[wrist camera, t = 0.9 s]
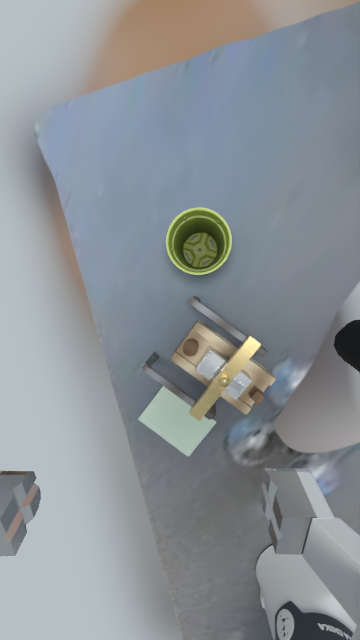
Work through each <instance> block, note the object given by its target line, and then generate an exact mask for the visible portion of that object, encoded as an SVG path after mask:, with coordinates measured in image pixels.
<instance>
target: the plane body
mask: <svg viewBox="0 0 360 640" xmlns="http://www.w3.org/2000/svg"><path fill="white" fill-rule="evenodd" d="M199 300H200V299H199V298H197V297H196V296H195V297H193V298H192V299H191V301H190V302H189V303H190V304H191V305H192V306H194V307H195V308H196V309H198V310H199V311H200V312H202V313H203V314H204V315H206V316H207V317H209V318H210V319H211V320H213V321H214V322H215V323H217V324H218V325H220V326H221V327H222V328H224V329H225V330H226V331H228V332H229V333H230V334H232V335H233V336H235V337H236V338H237V339H239V340H240V341H241V342H244V340H245V339H246V338H247V337H246V336H245V335H244V334H242V333H241V332H240V331H238V330H237V329H235V328H234V327H233V326H231V325H230V324H229V323H227V322H226V321H224V320H223V319H222V318H220V317H219V316H218V315H216V314H215V313H214V312H212V311H211V310H209V309H208V308H207V307H205V306H204V305H203V304H201V303H200V302H198V301H199ZM210 345H211V346H213V347H214V348H215V349H217V350H218V351H220V352H221V353H222V354H224V355H225V356H226V357H228V358H229V359H230V358H231V357H232V356H233V354H234V353H235V352H236V350H237V349H238V348H237V347H236V346H235V345H233V344H232V343H231V342H229V341H228V340H226V339H225V338H224V337H222V336H221V335H220V334H218V333H217V332H215V331H214V330H213V329H211V328H210V327H209V326H207V325H206V324H205V323H203V322H202V321H200V320H198V321H197V323H196V324H195V325H194V327H193V328H192V330H191V331H190V332H189V334H188V335H187V336H186V338H185V339H184V340H183V342H182V343H181V344H180V346H179V347H178V348H177V350H176V351H175V352H174V354H173V356H172V357H171V360H172V361H173V362H175V363H176V364H177V365H179V366H180V367H182V368H183V369H184V370H186V371H187V372H188V373H190V374H191V375H192V376H194V377H195V378H196V379H198V380H199V381H201V382H202V383H203V384H205V385H206V386H207V387H208V386H209V385H210V383H211V381H210V380H208V379H207V378H205V377H204V376H203V375H201V374H200V373H199V372H197V371H196V370H195V368H196V363H197V361H198V360H199V359H200V358H201V356H202V355H203V354H204V352H205V351H206V350H207V348H208V347H209V346H210ZM256 353H258V354H259V355H261V356H264V355H265V354H266V353H267V351H266V350H265V349H264V348H263V346H262V345H261V346H260V347H259V348H258V349H257V351H256ZM157 357H158V355H157V354H155V353H154V354H153V355H152V356H151V357H150V358H149V359H148V361H147V362H146V363H145V364H144V366H143V367H142V368H143V369H144V372H145V373H147V374H148V375H149V376H151V377H152V378H153V379H155V380H156V381H157V382H159V383H160V384H161V385H163V386H164V387H165V388H167V389H168V390H170V391H171V392H172V393H174V394H175V395H176V396H178V397H179V398H180V399H182V400H183V401H184V402H186V403H187V404H188V405H190V406H191V407H192V406H193V405H194V404H195V402H196V400H195V399H193V398H192V397H191V396H189V395H188V394H186V393H185V392H184V391H182V390H181V389H180V388H178V387H177V386H176V385H174V384H173V383H172V382H170V381H169V380H168V379H166V378H165V377H163V376H162V375H161V374H159V373H158V372H157V371H155V370H154V369H153V368H151V365H152V364H153V363H154V361H155V360H156V359H157ZM243 369H244V370H245V371H247V372H248V373H249V375H250V377H251V379H252V382H251V383H250V384H249V385H248V386H247V388H246V389H245V390H244V391H243V392H242V394H241V395H240V396H239V397H238V399H237V400H235V399H234V398H233V397H231V396H230V395H229V394H227V393H226V392H223V393H222V394H221V395H220V396H221V397H222V398H224V399H225V400H226V401H228V402H229V403H230V404H232V405H233V406H234V407H236V408H237V409H238V410H240V411H241V412H243V413H244V414H245V415H247V414H248V413H249V411H250V410H251V409H252V408H251V406H252V405H253V404H254V402H256V403H257V404H260V403H261V401H262V400H263V399H264V398H265V396H264V394H263V392H264V390H265V389H266V388H267V387H268V386H269V385H270V386H271V385H272V384H273V383H274V382H275V380H276V378H275V377H274V375H273V374H272V373H271V372H270V371H269V370H267V369H266V368H265V367H263V366H262V365H261V364H259V363H258V362H256V361H255V360H254V359H252V358H250V359H249V360H248V362H247V363H246V364H245V365H244V367H243ZM215 415H216V410H215V403H214V404H213V405H212V406H211V408H210V409H209V410H208V411H207V413H206V414H205V415H204V416H205V417H206V418H207V419H209V420H210V419H213V418H214V417H215Z"/></svg>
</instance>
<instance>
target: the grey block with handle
mask: <svg viewBox="0 0 360 640" xmlns="http://www.w3.org/2000/svg"><path fill="white" fill-rule="evenodd" d="M228 361H229V358H228V357H226V356H225V355H224V354H222V353H221V352H220V351H218V350H217V349H215V348H214V347H213V346H211V345H210V346H209V347H208V348H207V350H206V351H205V352H204V354H203V355H202V356H201V358H200V359H199V360H198V361H197V363H196V368H195V370H196V371H197V372H199V373H200V374H201V375H203V376H204V377H205V378H207V379H208V380H210V381H211V382H212V381H213V380H214V378H215V377H216V376H217V375H218V373H219V372H220V371H221V369H222V368H223V367H224V366H225V364H226V363H227V362H228ZM251 382H252V379H251V377H250V375H249V373H248V372H247V371H245V370H244V369H243V368H242V369H241V370H240V372H239V373H238V374H237V375H236V377H235V378H234V379H233V380H232V382H231V383H230V384H229V385H228V387H227V388H226V389H225V390H224V392H226V393H227V394H229V395H230V396H231V397H233V398H234V399H235V400H237V399H238V397H239V396H240V395H241V394H242V392H243V391H244V390H245V389H246V388H247V386H248V385H249V384H250V383H251Z"/></svg>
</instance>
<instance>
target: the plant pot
mask: <svg viewBox="0 0 360 640" xmlns="http://www.w3.org/2000/svg"><path fill="white" fill-rule="evenodd" d="M194 236H197V238H195V239H193V240H191V238H193V237H194ZM190 240H191V241H190ZM210 240H211V241H212V242H213V244H214V248H213V247H212V245H211V243H210ZM231 246H232V236H231V232H230V229H229V226H228V224H227V223H226V221H225V220H224V219H223V218H222V217H221V216H220V215H219V214H218V213H216V212H215V211H213V210H210V209H207V208H200V207H199V208H192V209H188V210H186V211H184V212H182V213H181V214H179V215H178V216H177V217H176V218H175V219H174V220H173V222H172V223H171V225H170V227H169V229H168V232H167V236H166V248H167V252H168V255H169V257H170V259H171V260H172V262H173V263H174V264H175V265H176V266H177V267H178V268H179V269H181V270H182V271H184V272H186V273H189V274H193V275H204V274H208V273H211V272H213V271H215V270H216V269H218V268H219V267H220V266H221V265H222V264H223V263H224V262H225V261H226V259H227V257H228V255H229V253H230V250H231ZM199 249H201V251H200V252H199V251H198V250H199ZM186 253H188V256H189V258H190V260H189V259H188V258H187V256H186ZM208 260H209V262H207V263H206V264H202V263H204V262H206V261H208Z"/></svg>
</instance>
